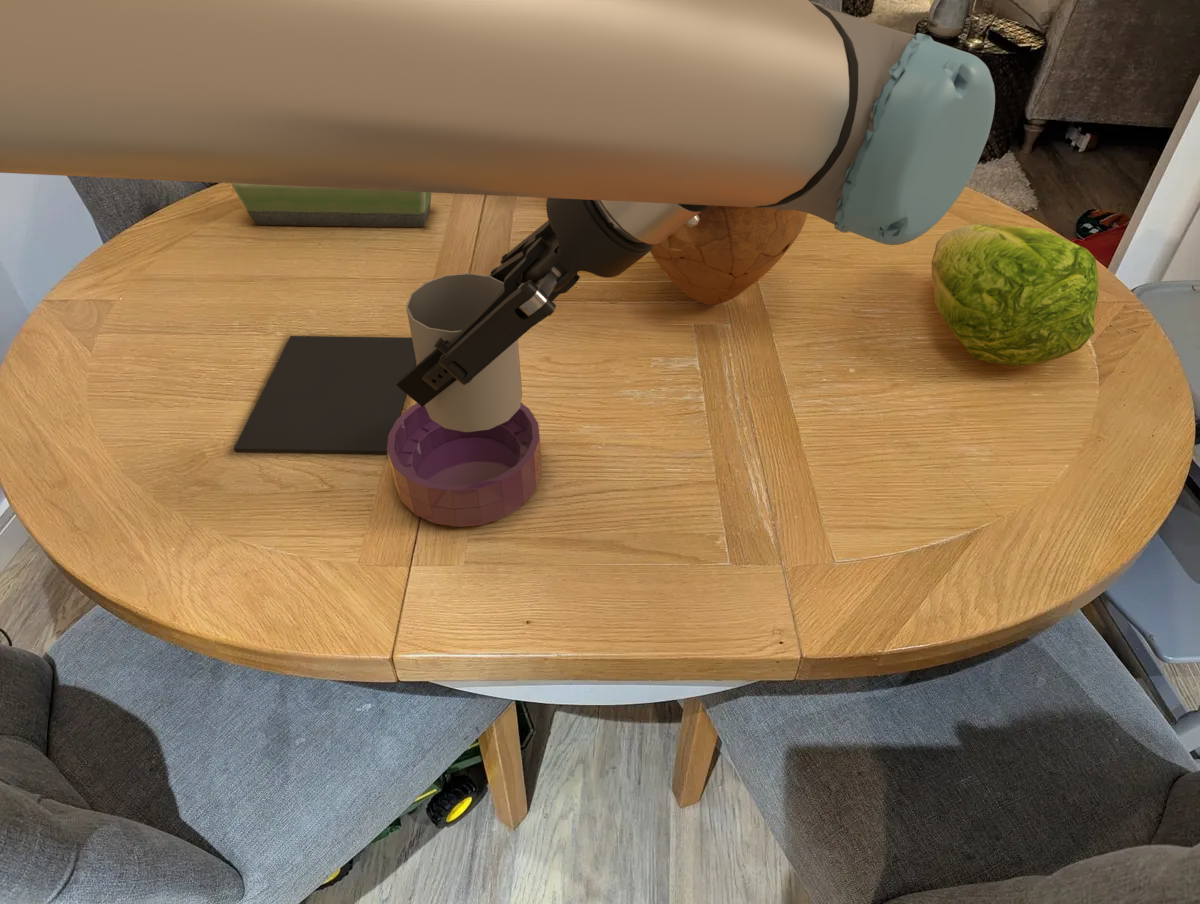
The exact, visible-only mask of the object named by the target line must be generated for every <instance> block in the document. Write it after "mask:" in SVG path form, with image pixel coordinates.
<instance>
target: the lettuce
mask: <svg viewBox="0 0 1200 904" xmlns="http://www.w3.org/2000/svg"><path fill="white" fill-rule="evenodd" d="M931 280H932V284H933V287H934V304H935V306H936V308H937V310H938V312H939V313H940V314H941V316H942V318H943V319H944V321H945V322H946V324H947V325H948V327H949V329H950V330H951V332H952V333H953V335H954V336H955V338H956V339H957V340H958V341H959V343H960V344H961V345H962V346H963V347H964V348H965V350H966V351H967V352H968V353H969V355H971V357H972V358H973V359H974V360H976V361H977V360H978V361H981V362H986V363H989V364H995V365H1002V366H1003V365H1004V366H1010V367H1011V366H1012V367H1022V366H1030V365H1031V366H1032V365H1039V364H1042V363H1045V362H1046V363H1047V362H1049V361H1052V360H1056V359H1060V358H1061V357H1064V356H1067V355H1069V354H1071V353H1074V352H1076V351H1079V350H1081V348H1083V346H1084V345H1085V344H1086V343H1087V342H1088V341H1089V340H1090V338H1092V337H1093V335H1094V334H1095V312H1096V307H1097V303H1098V300H1099V299H1098V298H1099V272H1098V265H1097V258H1096V257H1095V256H1094V255H1093V254H1092V253H1091V252H1090V251H1089V250H1088V249H1087V248H1086V247H1083V246H1082V245H1080V244H1077V243H1075V242H1073V241H1071V240H1068V239H1066V238H1063V237H1062V236H1059V235H1057V234H1055V233H1053V232H1050V231H1049V230H1047V229H1044V228H1036V227H1030V226H1029V227H1027V226H1019V225H1018V226H1017V225H1003V224H996V223H995V224H994V223H987V222H977V223H969V224H965V225H961V226H958V227H956V228H954V229H952V230H950V231H947V232H945V234H943V235H942V236H941V237H940V238H939V239H938V240H937V241H936V244H935V249H934V252H933V255H932V259H931Z"/></svg>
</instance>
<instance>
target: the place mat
mask: <svg viewBox="0 0 1200 904" xmlns="http://www.w3.org/2000/svg"><path fill="white" fill-rule="evenodd" d="M416 365H417V362H416V357H415V352H414V346H413V341H412V337H405V336H404V337H401V336H400V337H398V336H397V337H395V336H391V337H390V336H332V335H331V336H326V335H325V336H323V335H321V336H319V335H315V336H314V335H290V336H289V338H288V340H287V342H286V344H285V345H284V348H283V350H282V351H281V354H280V355H279V358H278V359H277V361H276V364H275V366H274V368H273V369H272V372H271V374H270V375H269V377H268V380H267V381H266V383H265V385H264V388H263V389H262V391H261V393H260V396H259V397H258V399H257V401H256V404H255V405H254V407H253V409H252V411H251V413H250V415H249V416H248V419H247V421H246V423H245V425H244V427H243V429H242V431H241V433H240V435H239V437H238V439H237V441H236V442H235V445H234V447H233V450H234V453H272V454H273V453H274V454H275V453H276V454H277V453H279V454H284V453H285V454H344V455H346V454H347V455H349V454H350V455H351V454H352V455H388V453H387V444H388V435H389V433H390V431H391V429H392V427H393V426H394V424H395V422H396V420H397V419H398V418H399V417H400V416H401V415H402V412H403V409H404V406H405V402H406V399H407V396H408V395H407V394H406V393H405V392H404V391H402V390H401V389H400V388H399V387H398V386H397V383H398V382H399V380H400V379H401V378H402V377H403V376H405V375H406V374H407V373H408V372H409V371H411V370H412V369H413V368H414V367H415V366H416Z"/></svg>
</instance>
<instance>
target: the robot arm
mask: <svg viewBox="0 0 1200 904" xmlns="http://www.w3.org/2000/svg"><path fill="white" fill-rule="evenodd" d="M995 90H996V89H995V83H994V81H993V77H992V75H991V72H990V69H989V67H988V66H987V64H986V63H985V62H984V61H983V60H981V59H980V58H979V57H978V56H977V55H974V54H972V53H970V52H967V51H964V50H962V49H958V48H955V47H953V46H949V45H947V44H944V43H941V42H938V41H935V40H934V39H933V38H932V36H931V35H929V34H925V33H922V32H917V33H915V34H912V33H909V32H905V31H901V30H897V29H895V28H891V27H888V26H885V25H881V24H878V23H875V22H871V21H869V20H865V19H862V18H860V17H856V16H854V15H851V14H849V13H846V12H844V11H840V10H839V9H835V8H832V7H830V6H827V5H825V4H822V3H818V2H814V1H812V0H0V174H18V175H19V174H20V175H23V174H25V175H39V176H40V175H41V176H43V175H44V176H61V177H62V176H65V177H84V178H85V177H87V178H104V179H105V178H107V179H108V178H109V179H127V180H128V179H130V180H148V181H149V180H151V181H172V182H173V181H174V182H195V183H197V182H198V183H212V184H213V183H216V184H217V183H218V184H231V183H235V184H257V185H279V186H300V187H322V188H344V189H366V190H387V191H409V192H431V194H433V193H434V194H454V195H457V194H458V195H476V196H477V195H479V196H497V197H498V196H499V197H520V198H542V199H543V198H545V199H546V204H545V205H546V207H545V208H546V215H547V219H548V220H547V221H545V222H544V223H543V224H542V225H541V226H539V227H538V228H537V229H535V230H534V231H533V232H532V233H530V234H529V235H528V236H526V237H525V238H524V239H523V240H522V241H521V242H520V243H518V244H517V245H515V246H514V247H513V248H511V250H509V251H508V252H507V253H505V254H503V255H502V256H501V259H500V260H499V263H500V265H498V266H496V267H495V268H493V269H492V270H490V272H489V273H490V274H489V276H491V277H493V278H495V279H497V280H499V281H501V282H503V283H504V289H503V290H502V291H501V292H500V293H499V294H498V295H497V296H496V297H495V298H494V299H493V300H492V301H491V302H490V303H489V304H488V305H487V306H486V307H485V308H484V309H483V310H482V311H481V312H480V313H479V314H478V315H477V316H476V317H475V318H474V319H473V320H472V321H471V322H470V323H469V324H468V325H467V326H466V327H465V328H464V329H463V330H462V331H461V332H460V333H459V334H458V335H457V336H456V337H455V338H454V339H453V340H452V341H451V342H450V343H449V342H448V341H447V340H446V341H444V340H443V339H442V338H440V339H439V340H438V341H437V342H436V343H435V345H434V346H435V347H436V348H437V349H435V350H434V351H433V352H432V353H431V354H430V355H428V356H427V357H426V358H425V359H424V360H422V361H421V362H420V363H419V364H418V365H417V364H416V365H415V367H414V368H413V369H412V370H411V371H409V372H408V373H407V374H406V375H405V376H403V377H402V378H401V379H400V380H399V382H398V383H397V386H398V387H399V388H400V389H401V390H402V391H404V392H405V393H406V394H407V396H408V397H410V398H411V399H412V400H413V401H414V402H415V403H418V404H419V405H420V406H422V407H423V406H424V405H425V404H427V403H428V402H429V401H431V400H432V399H433V398H434V397H436V396H437V395H438V394H440V393H441V392H442V391H443V390H445V389H446V388H447V387H449V386H450V385H451V384H452V383H454V382H455V381H456V380H458V381H459V382H461V383H462V384H463V385H466V384H467V383H469V382H470V381H471V380H472V379H473V378H474V377H475V376H476V375H477V374H478V373H480V372H481V371H482V370H483V369H484V368H485V367H486V366H488V365H489V364H490V363H491V362H492V361H493V360H495V359H496V358H497V357H498V356H499V355H500V354H501V353H503V352H504V351H505V350H506V349H507V348H508V347H510V346H511V345H512V344H513V343H514V342H515V341H516V340H518V341H519V339H520V338H522V337H523V336H524V335H525V334H526V333H527V332H529V330H531V329H532V328H533V327H534V326H536V325H537V324H539V323H540V322H542V321H543V320H545V319H546V318H547V317H551V316H552V315H553V314H554V312H555V310H556V308H557V304H556V303H555V302H553V301H554V300H555V299H556V298H558V297H559V296H560V295H563V294H566V293H568V292H569V291H570V289H572V288H573V287H574V286H575V285H576V284H577V283H578V281H579V280H580V278H581V276H580V275H579V272H585V273H589V274H593V275H595V276H597V277H600V278H606V279H608V278H609V279H611V278H615V277H618V276H620V275H621V274H623V273H625V271H626V270H628V269H629V268H631V267H632V266H633V265H634V264H636V263H637V262H638V261H639V260H641V259H642V258H643V257H645V256H646V255H647V254H649V253H651V249H652V247H653V244H659V243H661V242H662V241H663V240H665V239H666V238H667V237H668V236H670V235H671V234H672V233H674V232H675V231H676V230H677V229H678V228H679V227H681V226H682V225H683V224H686V225H687V226H688V227H690V228H691V227H694V226H696V225H697V224H698V222H699V220H700V219H699V216H698V215H697V214H699V213H700V212H701V211H703V210H705V209H706V208H707V207H708V206H710V205H714V206H735V207H757V208H769V209H782V210H797V211H801V212H806V213H808V215H812V216H815V217H817V218H820V219H822V220H824V221H826V222H828V223H829V224H832V225H834V229H835V230H837V231H839V232H841V233H843V234H845V233H846V234H847V233H848V232H850V233H852V234H855V235H858V236H860V237H863V238H866V239H867V240H868V239H869V240H871V241H874V242H876V243H880V244H882V245H887V246H897V245H903V244H907V243H910V242H912V241H915V240H917V239H918V238H920V237H921V236H923V235H925V234H926V233H927V232H929V231H930V230H931V229H932V228H934V227H935V226H936V224H938V223H939V222H940V220H942V219H943V218H944V217H945V215H946V214H947V213H948V212H949V210H950V209H951V208H952V207H953V206H954V204H955V203H956V201H957V200H958V199H959V198H960V196H961V194H963V191H964V190H965V188H966V186H967V184H968V182H969V181H970V179H971V177H972V175H973V173H974V171H975V169H976V167H977V165H978V163H979V161H980V158H981V156H982V154H983V151H984V149H985V146H986V144H987V141H988V138H989V135H990V132H991V128H992V124H993V121H994V120H993V119H994V116H995V115H994V114H995V106H996V91H995Z"/></svg>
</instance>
